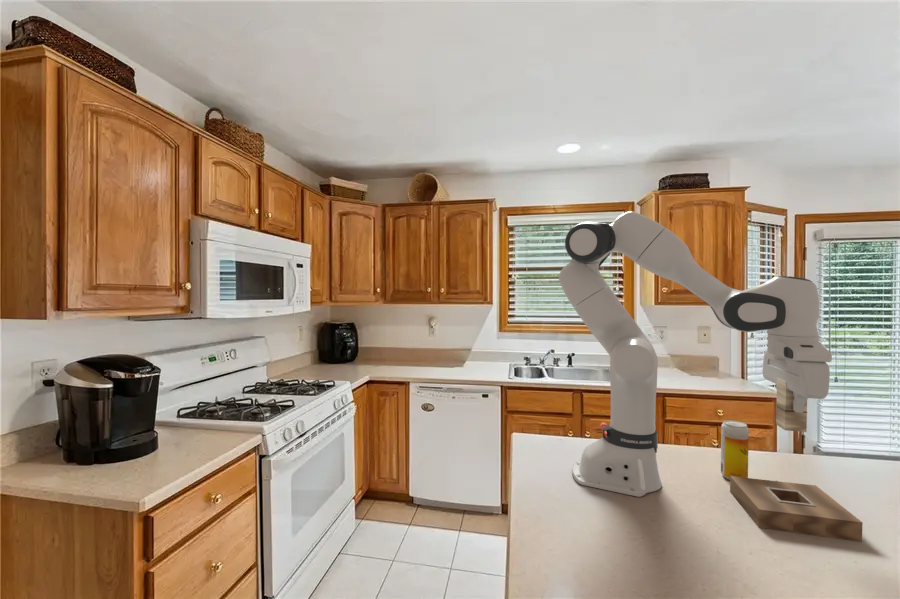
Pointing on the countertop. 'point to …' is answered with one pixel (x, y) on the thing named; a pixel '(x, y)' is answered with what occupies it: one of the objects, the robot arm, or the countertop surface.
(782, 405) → the birch peg
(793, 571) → the countertop surface
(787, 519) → the walnut board
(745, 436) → the beer can
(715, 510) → the countertop surface
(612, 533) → the countertop surface
